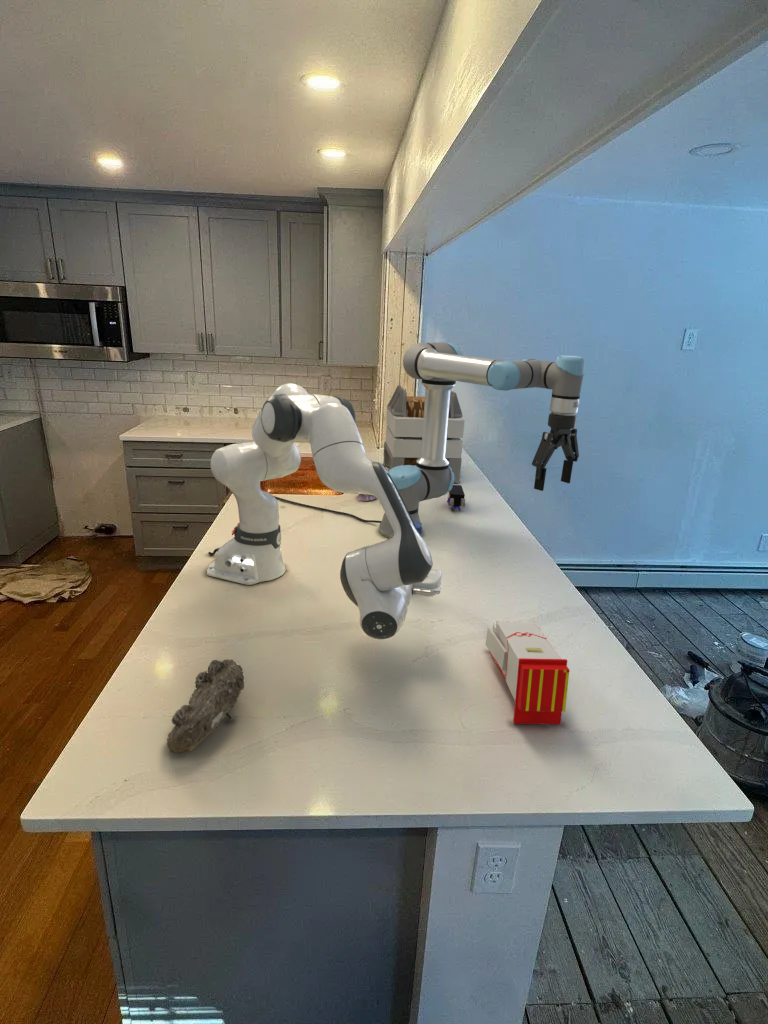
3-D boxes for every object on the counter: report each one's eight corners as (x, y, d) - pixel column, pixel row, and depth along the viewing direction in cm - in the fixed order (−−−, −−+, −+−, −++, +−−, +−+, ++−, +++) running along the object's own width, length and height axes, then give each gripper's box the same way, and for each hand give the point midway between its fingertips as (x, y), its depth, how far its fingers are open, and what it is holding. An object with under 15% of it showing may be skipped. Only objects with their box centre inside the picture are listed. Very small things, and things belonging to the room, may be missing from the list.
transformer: (382, 463, 289) (386, 382, 275) (445, 464, 293) (451, 384, 279) (390, 482, 257) (394, 392, 243) (460, 483, 261) (468, 394, 247)
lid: (399, 529, 156) (399, 522, 156) (416, 527, 158) (416, 520, 158) (407, 536, 152) (407, 529, 151) (425, 533, 154) (425, 527, 153)
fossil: (192, 660, 117) (244, 628, 112) (224, 691, 120) (276, 661, 115) (142, 746, 98) (202, 712, 93) (182, 779, 101) (242, 748, 96)
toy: (532, 606, 134) (578, 666, 105) (527, 658, 137) (571, 730, 108) (481, 605, 134) (513, 664, 105) (478, 657, 137) (508, 730, 107)
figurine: (362, 503, 229) (363, 467, 224) (351, 495, 238) (352, 460, 232) (383, 500, 233) (384, 465, 228) (372, 493, 242) (373, 459, 237)
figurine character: (465, 515, 224) (460, 499, 237) (467, 498, 221) (462, 483, 234) (448, 515, 224) (444, 499, 237) (450, 498, 220) (445, 482, 234)
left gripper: (440, 582, 121) (445, 556, 134) (347, 572, 124) (361, 548, 137) (438, 608, 123) (443, 580, 136) (347, 597, 126) (360, 571, 139)
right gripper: (548, 419, 148) (537, 496, 155) (598, 411, 163) (586, 482, 171) (525, 414, 153) (515, 489, 160) (575, 407, 169) (564, 476, 176)
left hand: (401, 564), depth 137 cm, fingers open, 8 cm apart
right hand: (552, 485), depth 166 cm, fingers open, 13 cm apart
